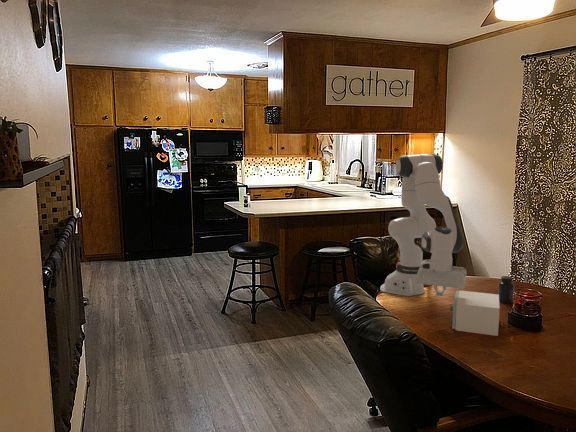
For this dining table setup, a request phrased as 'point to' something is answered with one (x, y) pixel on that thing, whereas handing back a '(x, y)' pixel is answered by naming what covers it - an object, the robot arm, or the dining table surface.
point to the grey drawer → (454, 310)
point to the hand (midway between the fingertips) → (439, 295)
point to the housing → (477, 313)
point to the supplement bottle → (506, 290)
